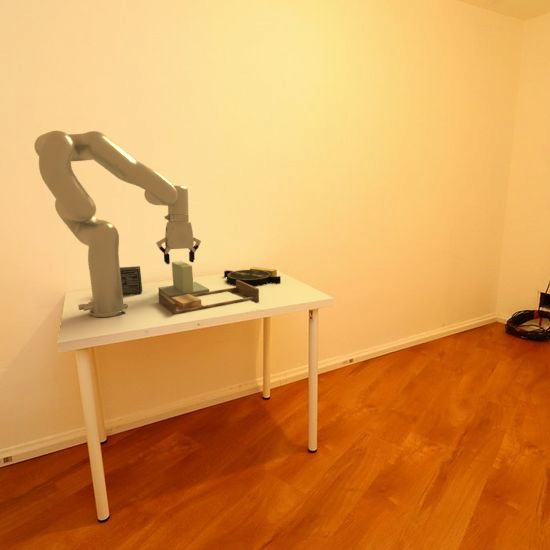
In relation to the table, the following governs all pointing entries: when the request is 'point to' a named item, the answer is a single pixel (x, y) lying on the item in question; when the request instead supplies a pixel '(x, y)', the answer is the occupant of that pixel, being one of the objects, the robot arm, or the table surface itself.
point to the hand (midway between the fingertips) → (179, 262)
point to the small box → (131, 280)
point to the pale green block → (182, 276)
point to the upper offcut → (186, 301)
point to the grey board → (174, 292)
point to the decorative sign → (253, 276)
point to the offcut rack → (240, 288)
